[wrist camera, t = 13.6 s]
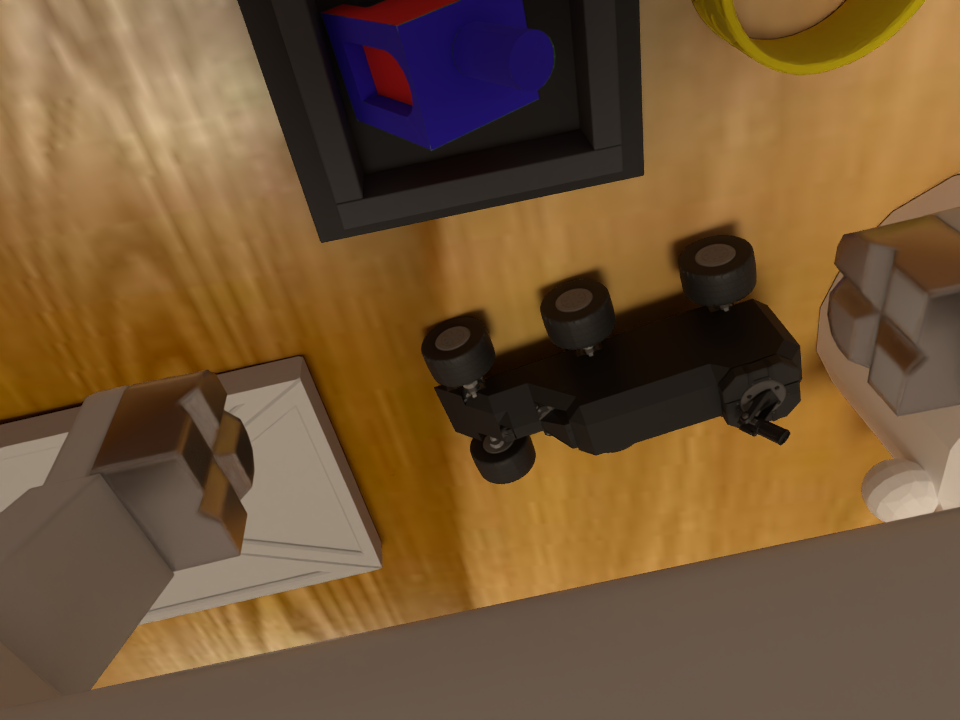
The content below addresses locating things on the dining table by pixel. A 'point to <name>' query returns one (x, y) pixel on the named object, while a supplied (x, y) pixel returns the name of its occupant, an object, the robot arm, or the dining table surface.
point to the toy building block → (438, 64)
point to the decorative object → (909, 438)
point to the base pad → (472, 157)
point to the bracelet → (815, 34)
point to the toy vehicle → (624, 368)
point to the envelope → (269, 503)
